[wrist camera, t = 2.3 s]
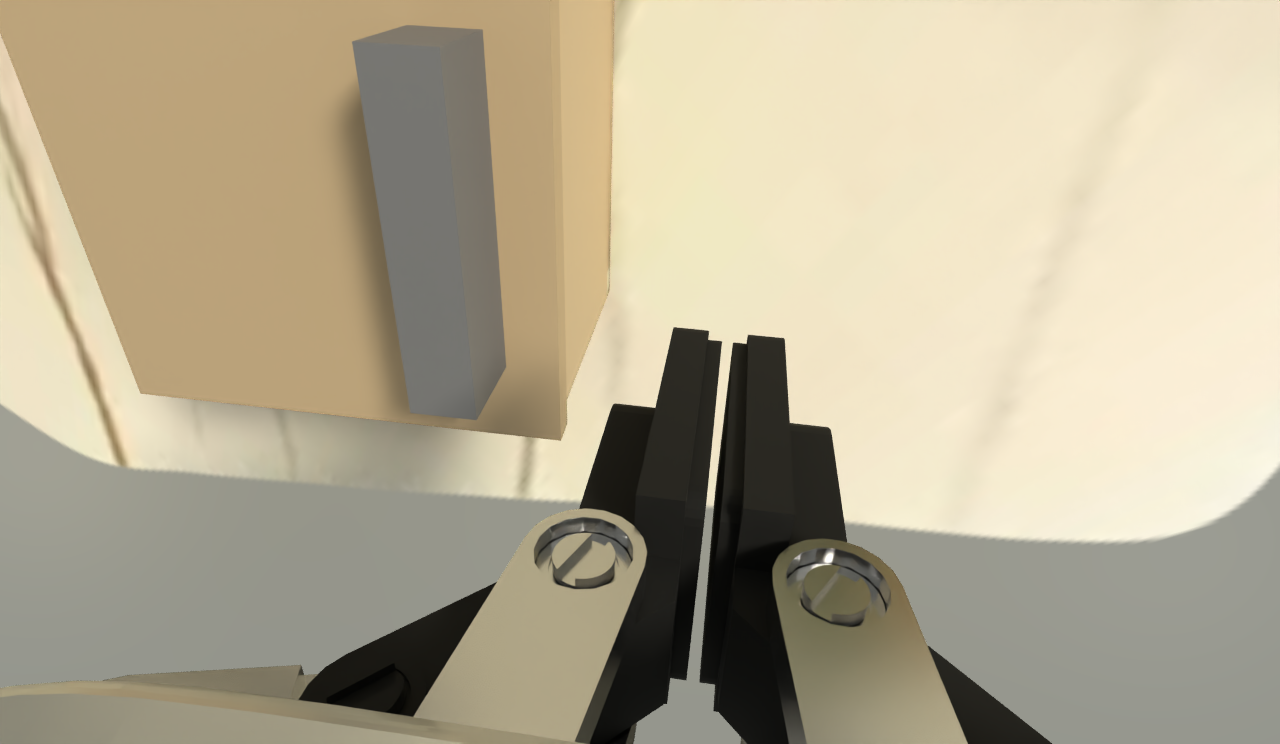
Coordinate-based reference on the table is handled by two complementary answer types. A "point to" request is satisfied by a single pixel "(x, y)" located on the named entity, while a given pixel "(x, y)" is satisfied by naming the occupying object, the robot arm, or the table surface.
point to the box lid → (317, 198)
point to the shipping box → (585, 167)
